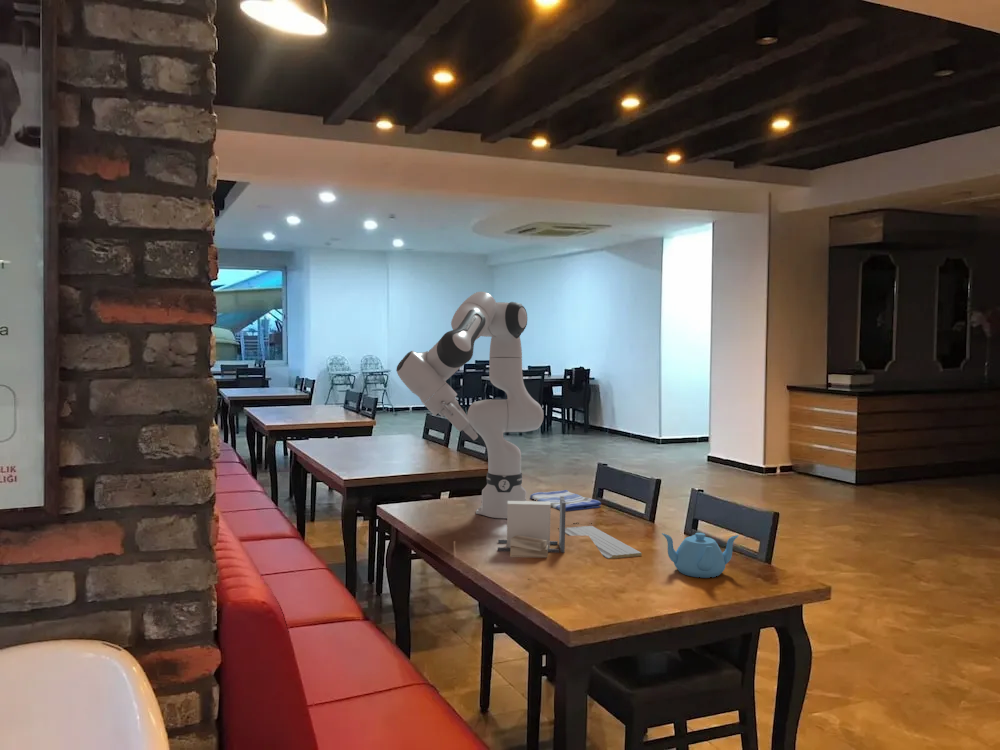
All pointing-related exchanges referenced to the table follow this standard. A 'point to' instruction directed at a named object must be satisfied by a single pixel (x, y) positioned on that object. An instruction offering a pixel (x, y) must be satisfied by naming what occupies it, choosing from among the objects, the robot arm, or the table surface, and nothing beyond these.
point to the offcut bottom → (527, 556)
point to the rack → (561, 531)
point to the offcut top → (528, 543)
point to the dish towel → (566, 500)
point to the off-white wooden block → (528, 520)
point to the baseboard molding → (604, 542)
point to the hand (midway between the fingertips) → (476, 436)
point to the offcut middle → (528, 552)
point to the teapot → (700, 555)
